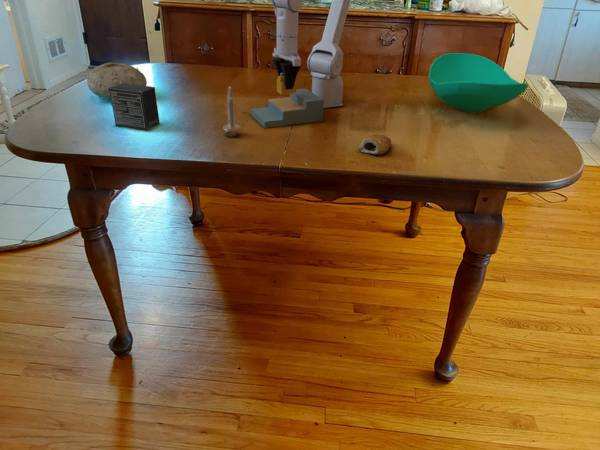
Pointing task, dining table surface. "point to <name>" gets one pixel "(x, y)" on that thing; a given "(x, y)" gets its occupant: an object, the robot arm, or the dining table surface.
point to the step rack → (290, 110)
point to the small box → (134, 106)
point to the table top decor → (472, 82)
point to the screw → (231, 116)
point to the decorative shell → (113, 77)
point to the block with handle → (281, 86)
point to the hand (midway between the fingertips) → (286, 86)
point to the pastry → (375, 144)
